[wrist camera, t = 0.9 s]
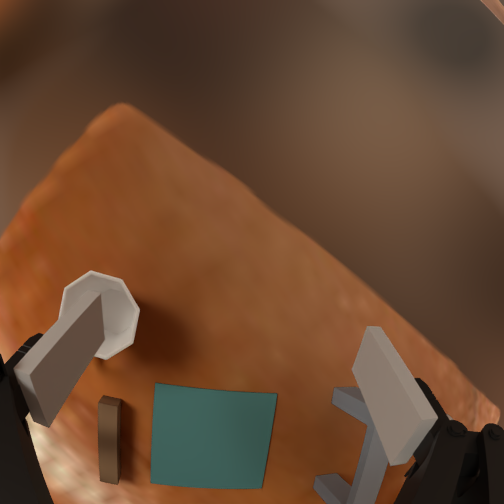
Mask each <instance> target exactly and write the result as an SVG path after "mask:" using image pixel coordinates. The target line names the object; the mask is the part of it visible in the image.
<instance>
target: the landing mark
mask: <svg viewBox="0 0 504 504" xmlns="http://www.w3.org/2000/svg"><path fill="white" fill-rule="evenodd" d="M276 400H277V393H254V392H237V391H224V390H212V389H202V388H193V387H184V386H176V385H168V384H161V383H155V394H154V409H153V425H152V448H151V483H154V484H163V485H172V486H182V487H196V488H217V489H256V488H262V483H263V478H264V472H265V466H266V461H267V455H268V449H269V443H270V437H271V431H272V425H273V419H274V413H275V406H276Z"/></svg>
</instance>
